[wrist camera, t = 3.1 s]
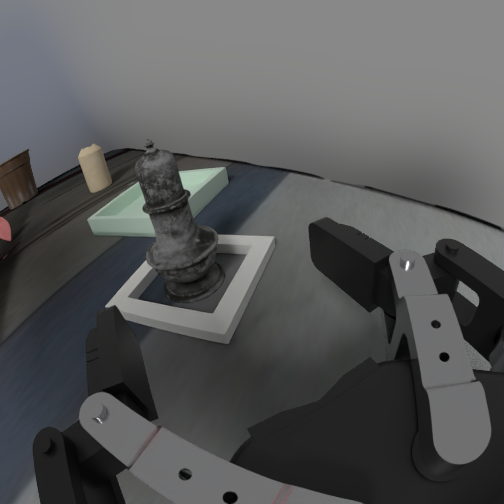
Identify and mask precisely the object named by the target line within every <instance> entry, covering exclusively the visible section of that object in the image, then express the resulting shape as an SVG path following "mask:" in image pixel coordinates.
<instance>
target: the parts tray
mask: <svg viewBox="0 0 504 504" xmlns="http://www.w3.org/2000/svg"><path fill="white" fill-rule="evenodd" d="M179 174H180V178H181V181H182V185H183V188H184V189H186V190H188V191H190V194H191V196H190V197H189V199H188V202H189V205H190V209H191V212H192V216H193V218H195V217H196V216H197V215H198V214H199V213H200V212H201V211H202V210H203V209H204V208H205V207H206V206H207V205H208V204H209V203H210V202H211V201H212V200H213V199H214V198H215V197H216V196H217V195H218V194H219V193H220V192H221V191H222V190H223V189H224V188H225V187H226V186H227V185H228V184H229V182H228V177H227V173H226V168H225V167H222V168H210V169H199V170H189V171H180V172H179ZM145 203H146V202H145V199H144V196H143V193H142V190H141V187H140V184H139V182H137V183H136V184H135V185H133V186H132V187H130V188H129V189H127V190H126V191H125V192H123V193H122V194H120V195H119V196H118V197H116V198H115V199H114V200H112V201H111V202H110V203H108V204H107V205H106V206H104V207H103V208H102V209H100V210H99V211H98V212H96V213H95V214H94V215H92V216H91V217H90V218H89V219H87V220H88V223H89V225H90V227H91V229H92V232H93V234H94V235H105V236H139V237H156V235H155V230H154V228H153V225H152V222H151V219H150V217H149V214H147V213H145V212H143V210H142V208H143V205H144V204H145Z"/></svg>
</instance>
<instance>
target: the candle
mask: <svg viewBox="0 0 504 504" xmlns="http://www.w3.org/2000/svg"><path fill="white" fill-rule="evenodd" d="M78 159H79V162H80V165H81V168H82V171H83V173H84V176H85V179H86V182H87V184H88V187H89V190H90V192H91V193H95V192H98V191H101V190H103V189H105V188H107V187H108V186H110V185H111V184H112V180H111V177H110V174H109V171H108V168H107V165H106V162H105V159H104V155H103V152H102V149H101V147H99V146H97V145H96V144H93V145H92V146H91V147H86V148H85V149H83V148H82V149H81V152H80V154H79V157H78Z"/></svg>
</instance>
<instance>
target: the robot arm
mask: <svg viewBox="0 0 504 504" xmlns="http://www.w3.org/2000/svg"><path fill="white" fill-rule="evenodd" d="M309 240H310V252H311V259H312V261H313V263H314V265H315V267H316V268H317V269H318V270H319V271H321V272H322V273H323V274H324V275H325V276H327V277H328V278H329V279H330V280H331V281H333V282H334V283H335V284H336V285H337V286H339V287H340V288H341V289H342V290H343V291H345V292H346V293H347V294H348V295H349V296H350V297H352V298H353V299H354V300H355V301H356V302H358V303H359V304H360V305H361V306H362V307H363V308H365V309H366V310H367V311H368V312H369V313H370V312H371V311H373V310H374V309H376V308H377V307H380V308H382V313H381V317H382V324H383V331H384V339H385V347H386V360H385V362H381V363H378V364H377V363H375V362H374V361H373V360H372V359H371V358H368V359H367V360H365V361H364V362H363V363H361V364H360V365H358V366H357V367H355V368H354V369H352V370H351V371H349V372H348V373H346V374H345V375H343V377H342V378H341V379H340V380H339V381H338V382H337V383H336V384H335V385H334V386H333V387H332V388H331V389H330V390H329V391H328V392H327V393H326V394H325V395H324V396H323V397H322V398H321V399H320V400H319V401H317V402H314V403H311V404H307V405H304V406H301V407H297V408H294V409H291V410H287V411H283V412H280V413H278V414H276V415H274V416H272V417H270V418H268V419H266V420H264V421H262V422H260V423H258V424H256V425H254V426H252V427H250V428H248V431H249V433H250V435H251V436H252V437H250V438H249V439H248V440H247V441H245V442H244V443H243V444H242V445H241V446H240V447H239V449H238V450H237V451H236V453H235V454H234V455H233V457H232V459H231V460H230V462H228V461H226V460H224V459H221V458H219V457H217V456H215V455H213V454H211V453H209V452H207V451H205V450H203V449H201V448H199V447H197V446H195V445H193V444H192V443H190V442H188V441H186V440H184V439H182V438H181V437H179V436H177V435H175V434H174V433H172V432H170V431H168V430H167V429H165V428H163V427H161V426H156V425H154V424H152V423H151V422H150V421H153V420H156V419H158V415H157V412H156V408H155V405H154V401H153V398H152V394H151V390H150V387H149V383H148V379H147V375H146V371H145V367H144V363H143V358H142V354H141V350H140V346H139V343H138V341H137V338H136V336H135V335H134V333H133V331H132V330H131V328H130V327H129V325H128V323H127V322H126V320H125V319H124V317H123V315H122V314H121V312H120V311H119V309H118V307H117V306H116V305H113V306H111V307H108V308H106V309H104V310H101V311H99V312H97V328H94V329H92V330H90V333H89V335H88V338H87V340H86V353H87V355H86V362H87V382H88V396H89V397H88V398H87V399H86V400H85V401H84V403H83V404H82V406H81V409H80V413H79V419H80V420H78V421H77V422H76V423H75V424H73V425H72V426H70V427H69V428H68V429H66V430H65V431H63V432H62V433H61V432H60V431H58V430H57V429H56V428H53V427H47V428H44V429H42V430H41V431H40V432H39V433H38V434H37V435H36V437H35V439H34V442H33V458H34V467H35V474H36V481H37V487H38V493H39V498H40V503H41V504H126V503H125V500H124V498H123V495H122V492H121V489H120V486H119V483H118V480H117V477H116V475H117V474H118V473H120V472H121V471H123V470H124V469H126V468H127V469H128V470H129V471H130V472H131V473H132V474H133V475H135V476H136V477H137V478H139V479H140V480H141V481H143V482H144V483H145V484H147V485H148V486H150V487H151V488H153V489H154V490H155V491H157V492H158V493H160V494H161V495H163V496H164V497H166V498H167V499H169V500H171V501H172V502H174V503H175V504H504V271H503V270H501V269H500V268H499V267H497V266H496V265H494V264H493V263H491V262H490V261H488V260H487V259H485V258H484V257H482V256H481V255H479V254H478V253H476V252H475V251H473V250H472V249H470V248H468V247H467V246H465V245H464V244H462V243H460V242H459V241H456V240H453V239H442V240H439V241H438V242H437V244H436V248H435V253H432V254H428V255H424V256H421V255H420V254H419V253H417V252H414V251H411V250H398V251H395V252H394V251H392V250H390V249H389V248H387V247H385V246H384V245H382V244H380V243H379V242H377V241H376V240H374V239H372V238H369V236H367V235H365V234H364V233H361V232H360V231H359V230H357V229H355V228H354V227H351V226H347V225H343V224H338V223H337V222H335V221H333V220H331V219H330V218H328V217H325V218H322V219H320V220H317V221H315V222H313V223H310V225H309ZM459 281H461V282H463V283H464V284H465V285H467V286H468V287H469V288H471V289H472V290H473V291H475V292H476V293H477V295H478V297H479V305H478V308H477V307H476V306H475V305H474V304H472V303H471V302H470V301H469V300H467V299H466V298H465V297H464V296H462V295H461V294H460V293H458V292H457V288H458V284H459ZM464 339H465V340H466V341H467V342H468V343H469V344H470V345H471V346H472V347H473V348H475V349H476V350H477V351H478V352H479V353H480V354H481V355H482V356H483V357H484V358H485V359H486V360H487V361H488V362H490V364H491V369H490V371H483V370H474V369H472V366H471V362H470V359H469V355H468V352H467V348H466V345H465V341H464Z"/></svg>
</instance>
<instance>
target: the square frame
mask: <svg viewBox="0 0 504 504" xmlns="http://www.w3.org/2000/svg"><path fill="white" fill-rule="evenodd" d="M218 238H219V239H218V243H217V245H216V247H217V252H216V253H229V254H245V255H247V256H246V257H245V259H244V261H243V263H242V264H241V266H240V268H239V270H238V271H237V273H236V275H235V276H234V278H233V280H232V282H231V283H230V285H229V287H228V289H227V290H226V292H225V294H224V295H223V297H222V299H221V301H220V302H219V304H218V306H217V308H216V309H215V311H214V313H213V314H212V313H206V312H200V311H194V310H189V309H183V308H178V307H172V306H167V305H162V304H157V303H152V302H147V301H143V300H138V298H139V297H140V296H141V295H142V293H143V292H144V291H145V290H146V289H147V287H148V286H149V285H150V284H151V282H152V281H153V280H154V279H155V278H156V276H157V275H158V273H157V272H156V271H155V269H154V268H152V267H151V266H150V265H149V264H148V263H147V260H146V261H145V262H144V263H143V264H142V265H141V266H140V267H139V268H138V270H137V271H136V272H135V273H134V274H133V275H132V276H131V277H130V278H129V280H128V281H127V282H126V283H125V284H124V285H123V286H122V287H121V289H120V290H119V291H118V292H117V293H116V294H115V295H114V297H113V298H112V299H111V300H110V301H109V302H108V304H107V305H106V306H105V307H106V308H108V307H111V306H113V305H116V306H117V307H118V309H119V311H120V312H121V314H122V315H123V317H124V319H125V320H129V321H132V322H136V323H139V324H143V325H147V326H150V327H154V328H158V329H162V330H166V331H170V332H174V333H178V334H182V335H186V336H191V337H195V338H200V339H204V340H209V341H214V342H218V343H223V344H229V342H230V340H231V338H232V336H233V334H234V332H235V330H236V328H237V326H238V324H239V322H240V320H241V318H242V315H243V313H244V311H245V309H246V307H247V305H248V303H249V301H250V299H251V297H252V295H253V293H254V291H255V289H256V286H257V284H258V282H259V280H260V278H261V276H262V274H263V272H264V270H265V268H266V265H267V263H268V261H269V259H270V257H271V255H272V253H273V251H274V249H275V246H276V245H275V239H274V237H272V236H244V235H218Z"/></svg>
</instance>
